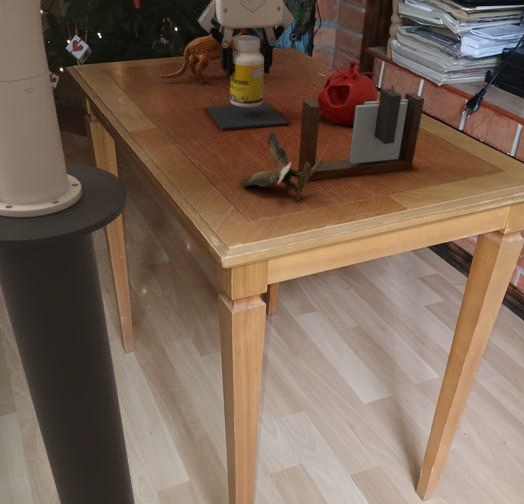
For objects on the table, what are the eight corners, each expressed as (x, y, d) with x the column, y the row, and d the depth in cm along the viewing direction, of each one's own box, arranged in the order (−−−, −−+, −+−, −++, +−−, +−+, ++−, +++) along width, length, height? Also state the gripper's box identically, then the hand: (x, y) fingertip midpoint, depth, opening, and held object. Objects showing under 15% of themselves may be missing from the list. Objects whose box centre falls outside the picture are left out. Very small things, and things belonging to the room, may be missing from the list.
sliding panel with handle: (360, 172, 81) (370, 97, 75) (349, 161, 84) (357, 89, 78) (408, 167, 83) (422, 93, 77) (396, 157, 86) (407, 85, 80)
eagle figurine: (326, 178, 80) (273, 149, 83) (320, 143, 73) (263, 113, 77) (291, 222, 79) (238, 190, 82) (281, 190, 72) (225, 157, 76)
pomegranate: (359, 108, 108) (366, 50, 102) (385, 126, 101) (394, 65, 95) (307, 112, 106) (311, 53, 100) (330, 131, 98) (336, 69, 92)
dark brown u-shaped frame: (305, 180, 82) (311, 107, 76) (297, 172, 84) (302, 100, 79) (411, 169, 86) (424, 98, 81) (401, 161, 89) (413, 92, 83)
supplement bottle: (223, 102, 101) (222, 37, 95) (246, 96, 104) (247, 32, 98) (246, 110, 98) (247, 43, 92) (269, 104, 101) (272, 38, 95)
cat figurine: (165, 88, 114) (159, 5, 106) (156, 79, 119) (150, -2, 111) (255, 81, 120) (257, 1, 111) (243, 73, 125) (244, -5, 116)
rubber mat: (222, 130, 97) (222, 127, 97) (205, 109, 105) (205, 106, 105) (287, 125, 100) (288, 122, 100) (266, 105, 108) (266, 102, 108)
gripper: (194, -61, 82) (199, 82, 93) (313, -61, 87) (304, 75, 98) (182, -66, 88) (188, 69, 99) (294, -66, 92) (288, 63, 103)
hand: (246, 71), depth 98 cm, fingers closed on supplement bottle, 5 cm apart
